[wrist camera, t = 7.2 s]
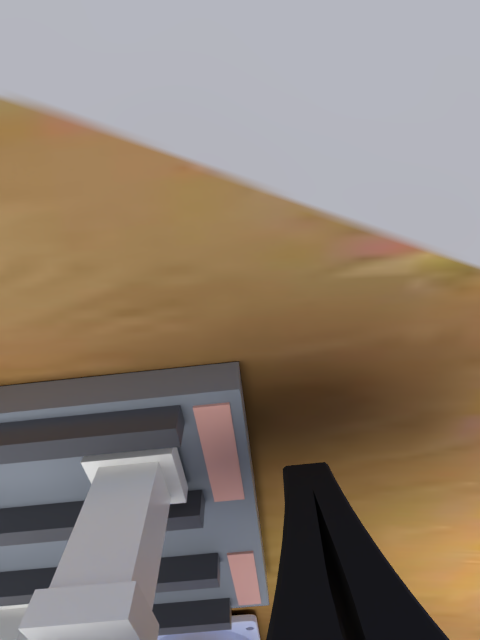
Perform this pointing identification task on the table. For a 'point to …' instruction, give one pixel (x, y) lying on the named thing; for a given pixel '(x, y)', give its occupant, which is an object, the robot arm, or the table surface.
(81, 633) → the breaker
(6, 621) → the breaker
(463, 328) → the table surface
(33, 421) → the panel
